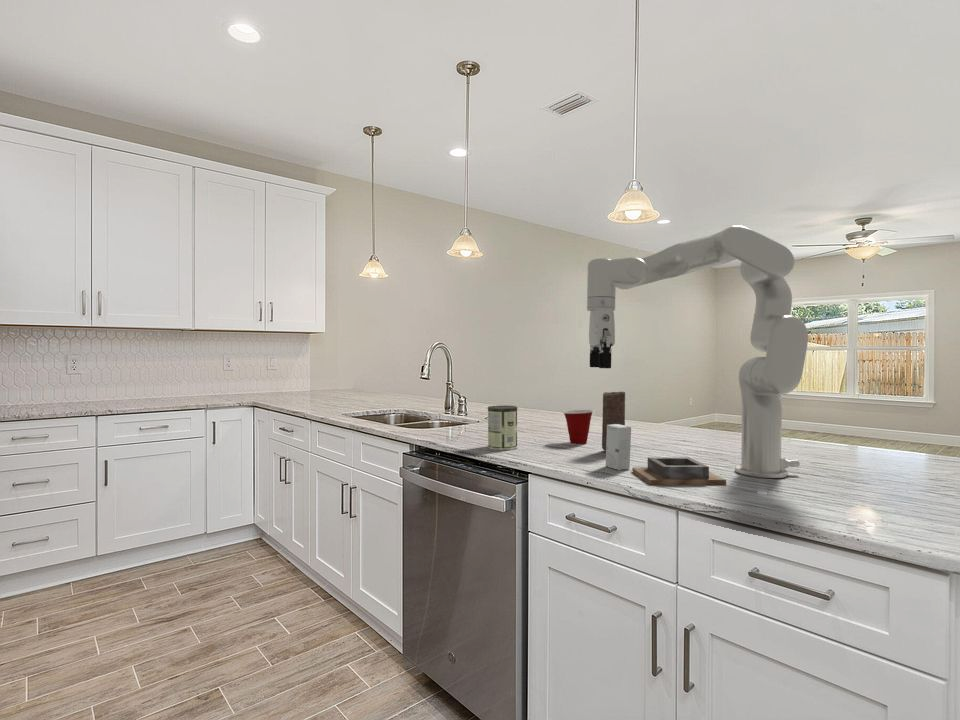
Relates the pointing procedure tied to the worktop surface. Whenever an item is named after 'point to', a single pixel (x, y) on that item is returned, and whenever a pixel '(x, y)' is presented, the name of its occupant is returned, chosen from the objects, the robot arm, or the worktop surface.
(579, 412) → the plastic cup
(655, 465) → the holder
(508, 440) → the coffee can
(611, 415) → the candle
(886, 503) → the worktop surface
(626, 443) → the skincare box
